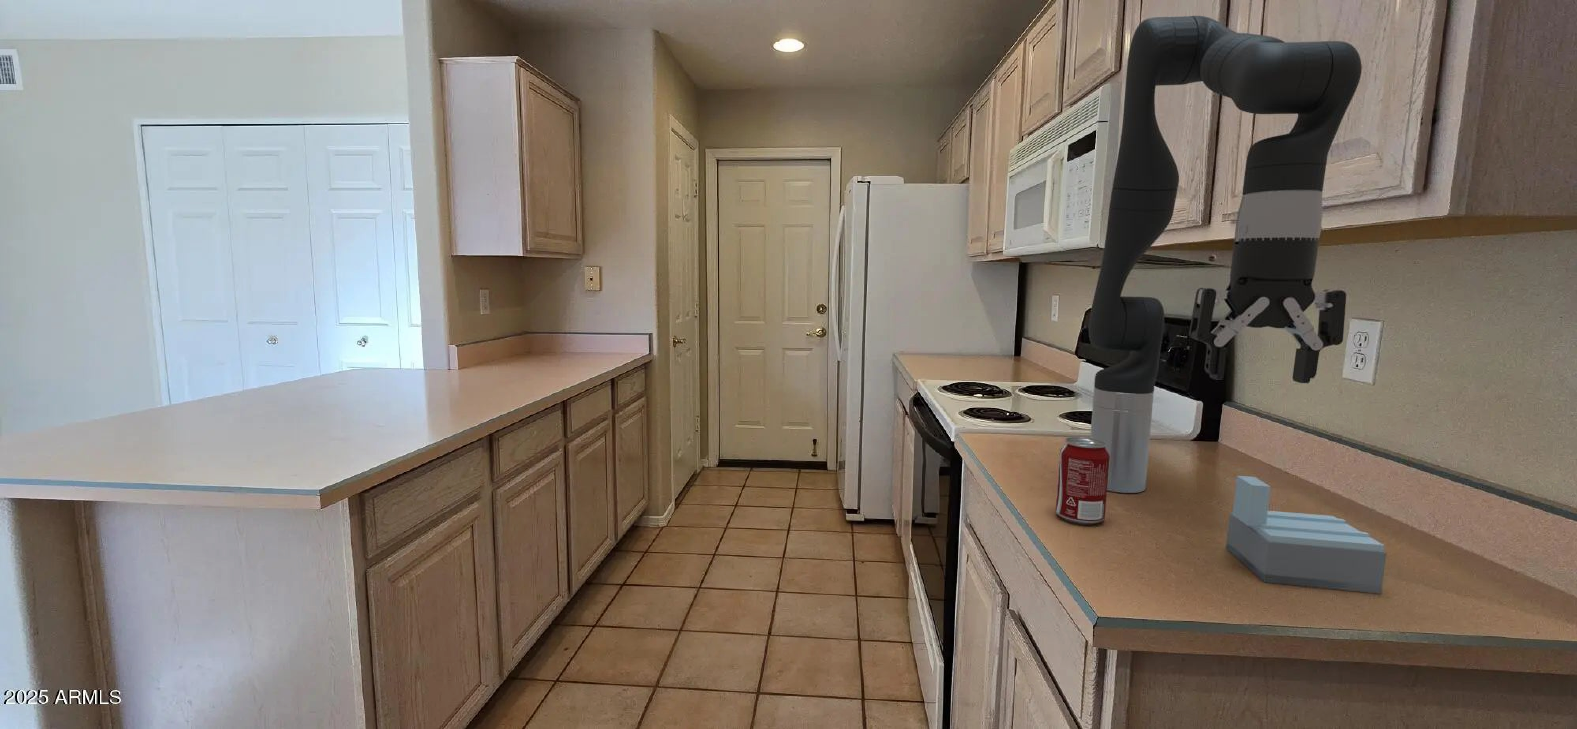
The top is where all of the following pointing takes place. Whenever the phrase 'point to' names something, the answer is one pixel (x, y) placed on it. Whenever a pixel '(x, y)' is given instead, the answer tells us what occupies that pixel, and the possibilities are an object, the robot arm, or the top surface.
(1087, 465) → the soda can
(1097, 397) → the robot arm
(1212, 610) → the top surface
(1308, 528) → the lid
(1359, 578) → the grey shallow tray
